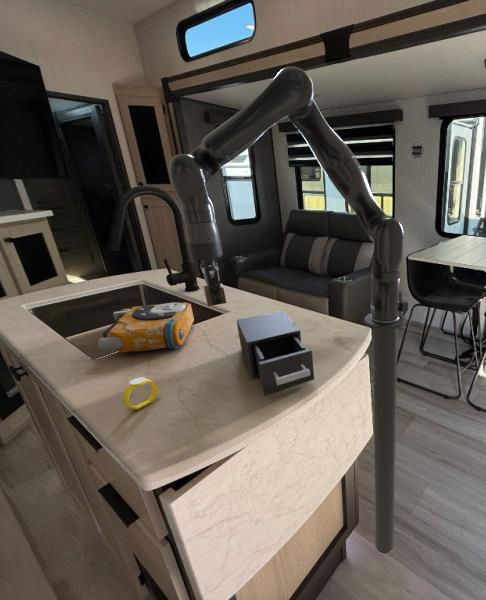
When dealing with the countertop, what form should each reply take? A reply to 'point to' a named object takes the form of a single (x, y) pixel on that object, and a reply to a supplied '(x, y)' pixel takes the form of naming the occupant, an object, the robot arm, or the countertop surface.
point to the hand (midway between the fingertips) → (216, 301)
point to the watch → (137, 383)
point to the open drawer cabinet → (282, 363)
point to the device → (148, 328)
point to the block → (208, 295)
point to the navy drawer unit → (263, 333)
